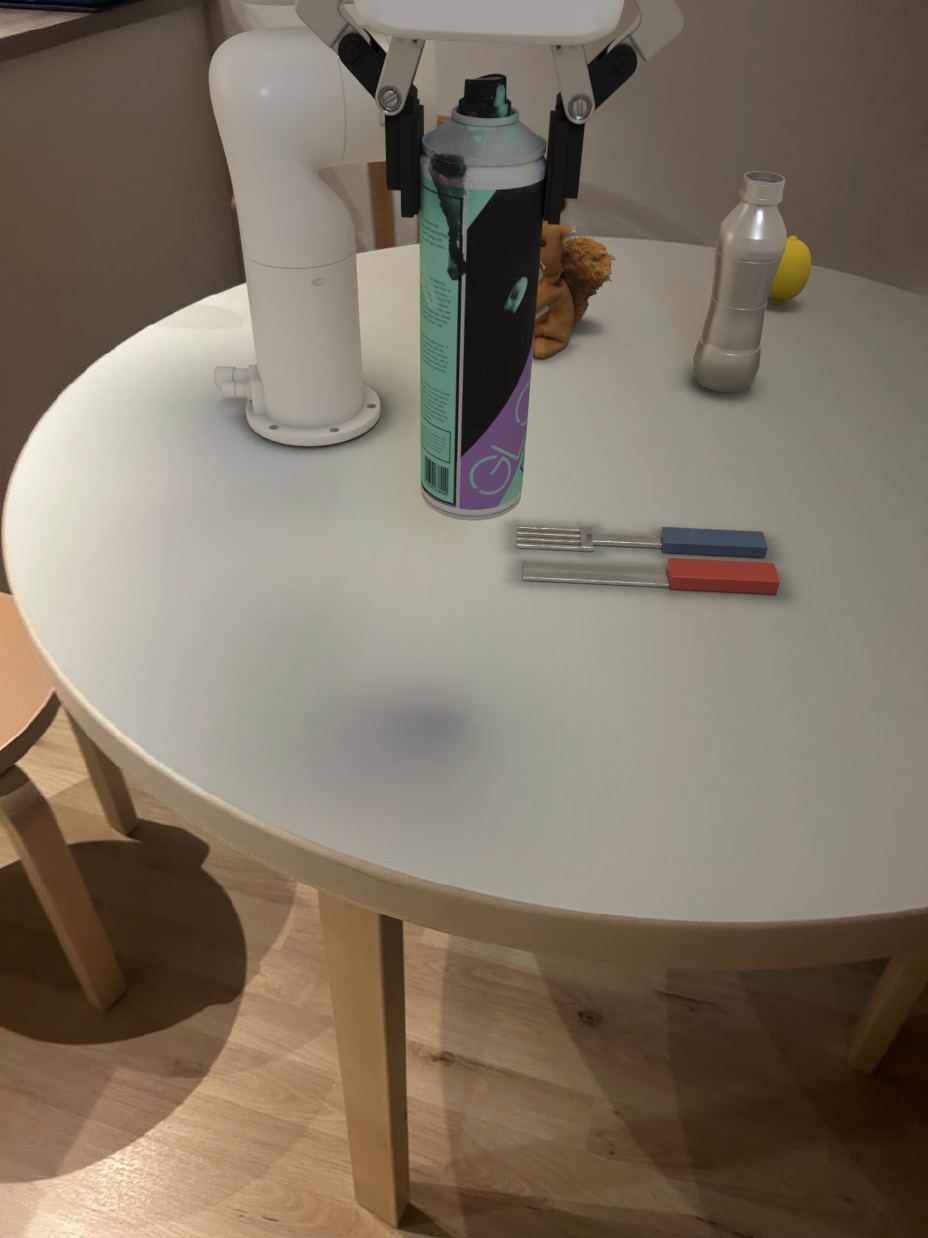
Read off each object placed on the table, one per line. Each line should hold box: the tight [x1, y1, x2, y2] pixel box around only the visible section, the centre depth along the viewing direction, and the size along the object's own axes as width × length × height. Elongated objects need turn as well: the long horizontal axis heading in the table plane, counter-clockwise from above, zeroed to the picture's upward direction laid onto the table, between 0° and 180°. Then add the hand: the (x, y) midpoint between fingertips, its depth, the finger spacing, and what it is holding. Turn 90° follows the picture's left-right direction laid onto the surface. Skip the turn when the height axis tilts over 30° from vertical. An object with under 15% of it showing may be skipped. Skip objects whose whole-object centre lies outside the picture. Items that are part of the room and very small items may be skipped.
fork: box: [516, 524, 768, 559], centre depth 76 cm, size 20×3×1 cm, turn 87°
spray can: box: [419, 73, 548, 522], centre depth 45 cm, size 6×6×20 cm
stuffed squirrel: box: [533, 221, 617, 359], centre depth 102 cm, size 10×14×13 cm
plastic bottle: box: [692, 170, 788, 393], centre depth 91 cm, size 6×7×20 cm
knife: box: [522, 557, 781, 595], centre depth 72 cm, size 19×2×1 cm, turn 87°
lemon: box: [768, 235, 812, 305], centre depth 112 cm, size 6×6×8 cm
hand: (482, 206), depth 42 cm, fingers closed on spray can, 5 cm apart
